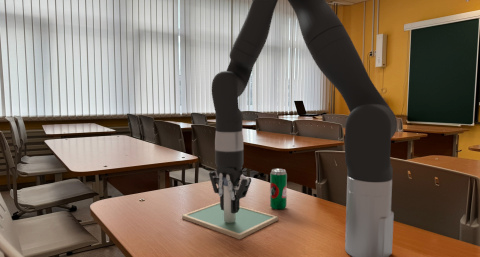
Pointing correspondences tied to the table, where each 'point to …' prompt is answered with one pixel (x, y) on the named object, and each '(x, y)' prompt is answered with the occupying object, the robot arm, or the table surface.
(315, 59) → the robot arm
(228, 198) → the marker
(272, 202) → the soda can
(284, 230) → the table surface
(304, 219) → the table surface
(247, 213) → the slate
